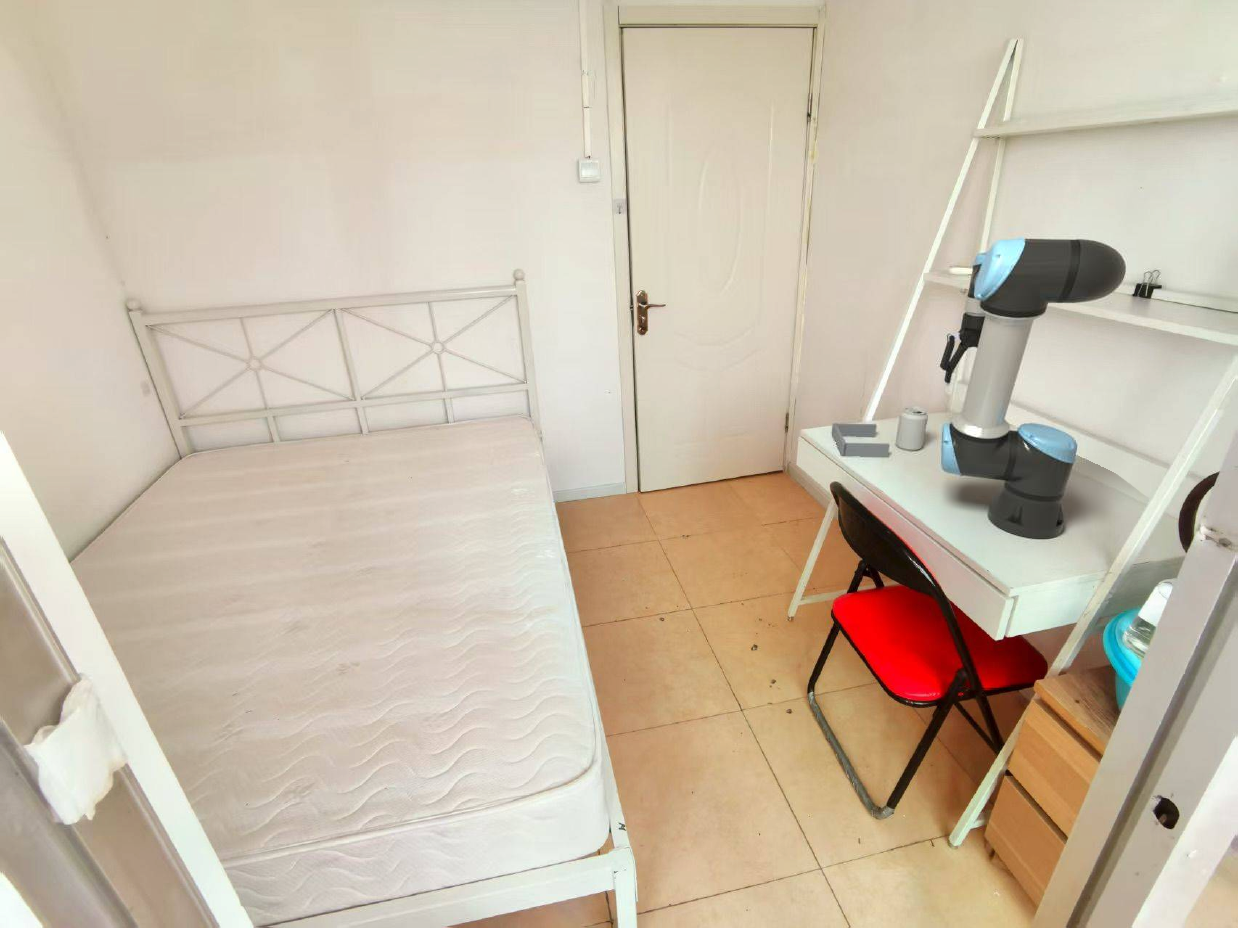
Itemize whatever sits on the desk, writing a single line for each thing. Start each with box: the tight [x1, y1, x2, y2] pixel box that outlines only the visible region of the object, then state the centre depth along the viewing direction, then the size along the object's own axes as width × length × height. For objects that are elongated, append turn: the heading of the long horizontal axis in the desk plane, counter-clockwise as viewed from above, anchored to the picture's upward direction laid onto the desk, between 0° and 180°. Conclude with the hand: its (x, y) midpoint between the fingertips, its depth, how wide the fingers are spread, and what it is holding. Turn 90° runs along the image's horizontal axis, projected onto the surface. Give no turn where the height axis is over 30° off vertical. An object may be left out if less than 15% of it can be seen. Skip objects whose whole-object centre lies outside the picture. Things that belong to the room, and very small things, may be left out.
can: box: [894, 406, 929, 452], centre depth 186 cm, size 8×8×12 cm
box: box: [831, 423, 891, 458], centre depth 190 cm, size 16×13×4 cm
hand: (962, 393), depth 180 cm, fingers open, 7 cm apart
